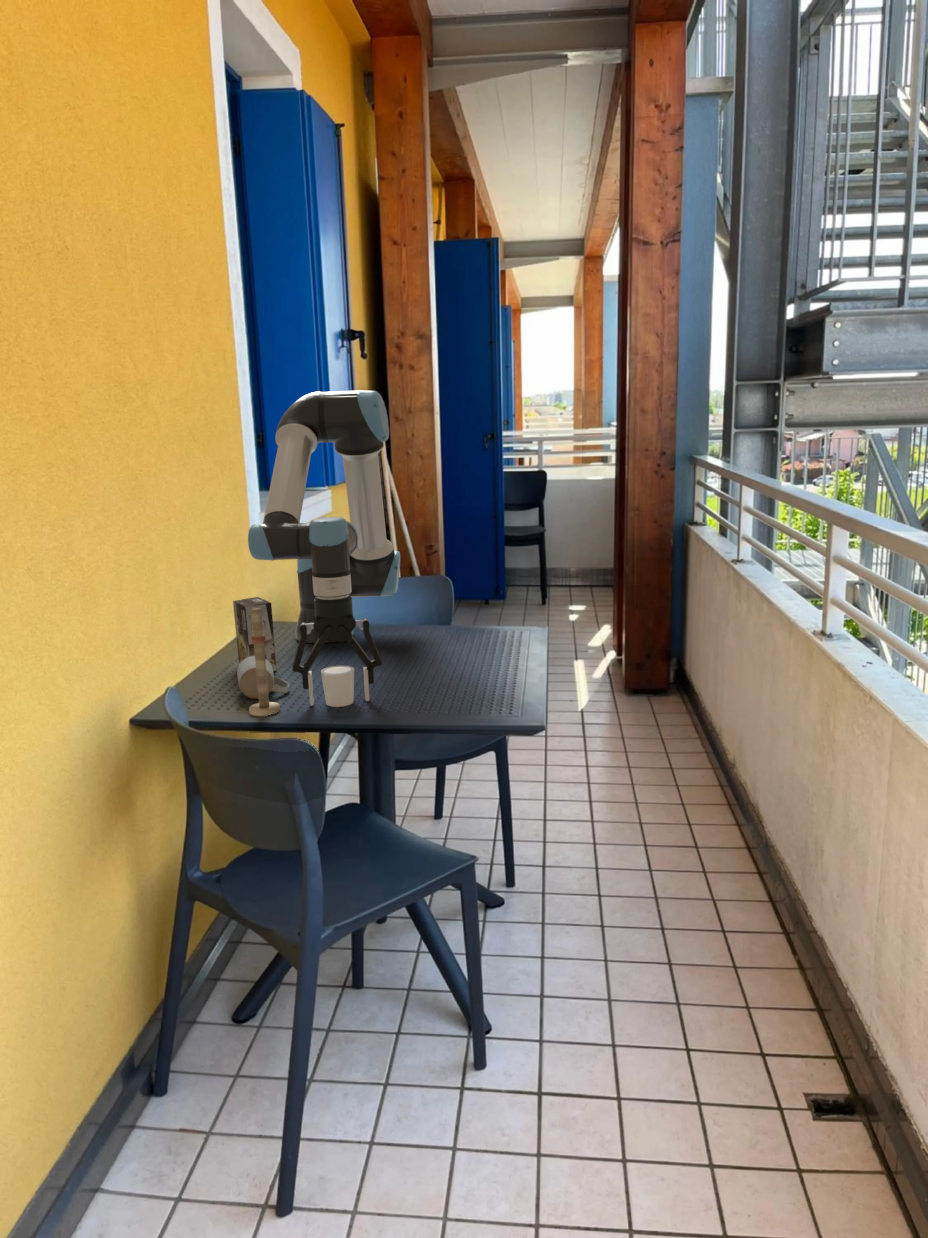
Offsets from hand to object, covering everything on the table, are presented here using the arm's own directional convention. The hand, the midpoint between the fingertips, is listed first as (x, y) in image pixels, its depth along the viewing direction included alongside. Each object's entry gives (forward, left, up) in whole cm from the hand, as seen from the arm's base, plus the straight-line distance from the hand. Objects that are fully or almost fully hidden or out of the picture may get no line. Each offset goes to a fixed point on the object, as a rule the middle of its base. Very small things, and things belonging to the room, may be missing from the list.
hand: (339, 701), depth 187 cm
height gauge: (+2, -15, 0) cm, 15 cm away
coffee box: (-30, -18, 0) cm, 35 cm away
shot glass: (0, 0, 0) cm, 0 cm away
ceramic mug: (-10, -16, -1) cm, 19 cm away
